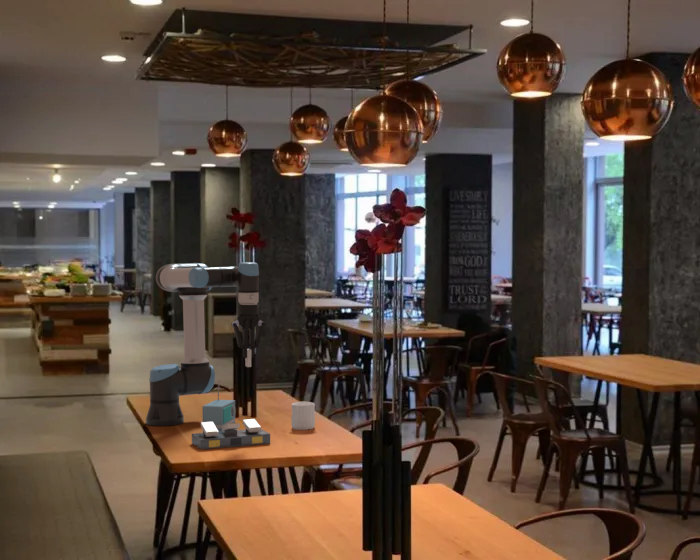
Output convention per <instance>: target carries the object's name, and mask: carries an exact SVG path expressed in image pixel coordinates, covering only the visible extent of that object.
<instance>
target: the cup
mask: <svg viewBox="0 0 700 560" xmlns="http://www.w3.org/2000/svg"><path fill="white" fill-rule="evenodd" d="M315 407H316V404H315V403H314V402H311V401H295V402H293V403H291V428H292V430H295V431H296V430H297V431H308V429H310V430H313V429H314V428H315V425H316V417H315V415H316V414H315Z"/></svg>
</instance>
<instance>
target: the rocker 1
mask: <svg viewBox="0 0 700 560" xmlns="http://www.w3.org/2000/svg"><path fill="white" fill-rule="evenodd" d="M200 428H201V430H202V433H203V432H204V433H205V435H206V437H208V436H218V433H219V431H218V430H217V428H216V426H215V425H214V423H213V422H203V421H201V422H200Z"/></svg>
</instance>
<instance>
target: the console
mask: <svg viewBox="0 0 700 560" xmlns="http://www.w3.org/2000/svg"><path fill="white" fill-rule="evenodd" d="M191 444H192V445H193V444H194V445H195V447H196V446H197V447H198V449H199V450H200V449H204V450H211V449H212V450H214V449H213V448H215V449H225V448H224V447H227V448H234V447H235V448H236V447H247V446H258V445H268V444H271V433H270V432H268V431H266V430H264V429H262V428H261V431H260V432H249V431H248V430H247V429H246V428H245V429H236V430H225V431H220V432H219V433H218V436H208V437H206V435H205V433H204V432H203V431H202V432H199V433H198V432H197V433H191ZM194 445H193V446H194ZM197 447H196V448H197Z"/></svg>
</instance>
